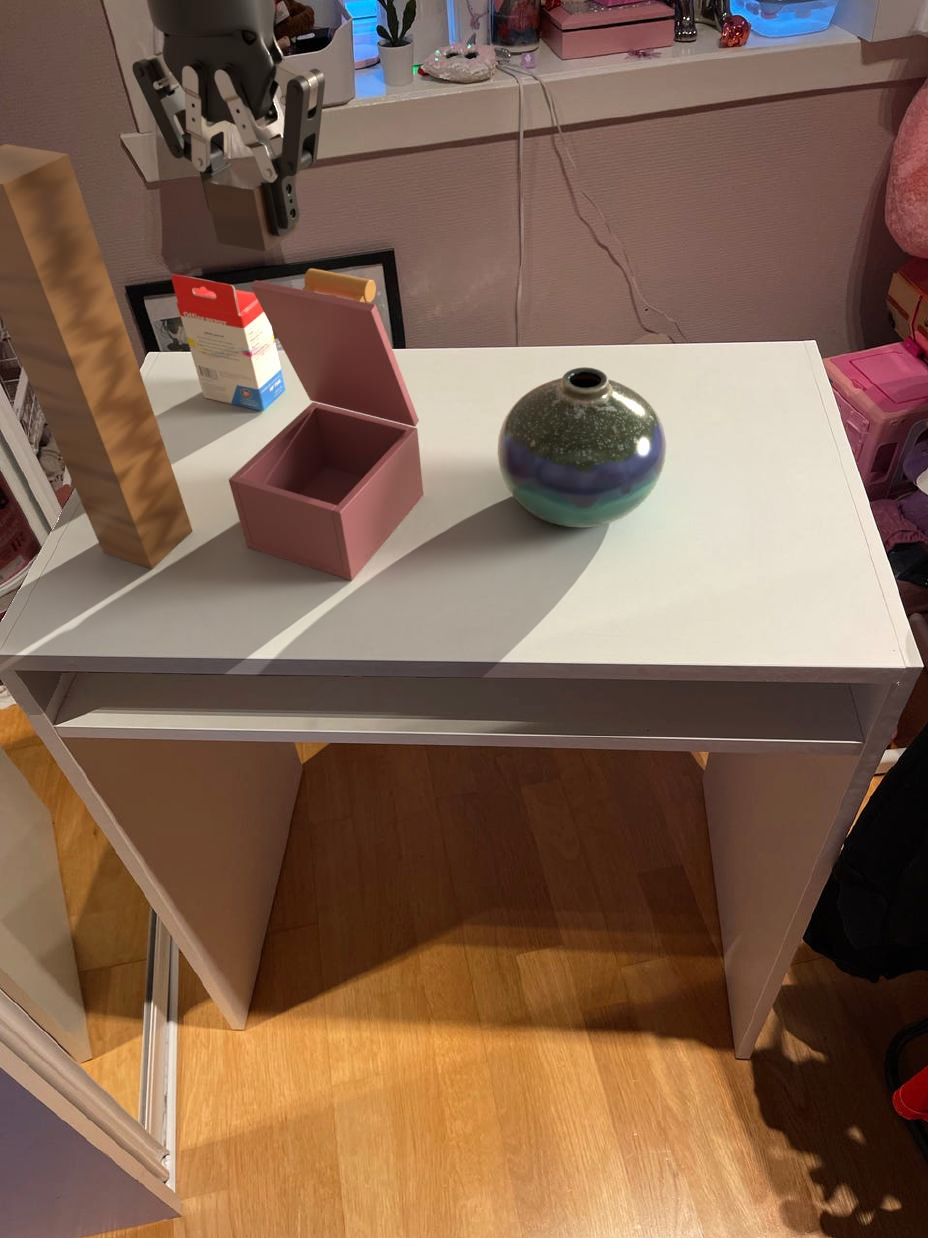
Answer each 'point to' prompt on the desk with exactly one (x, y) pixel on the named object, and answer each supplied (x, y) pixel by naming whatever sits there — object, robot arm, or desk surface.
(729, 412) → the desk surface
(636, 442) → the vase
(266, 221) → the block
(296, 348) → the lid
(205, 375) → the ink box
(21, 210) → the pedestal
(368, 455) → the chest
